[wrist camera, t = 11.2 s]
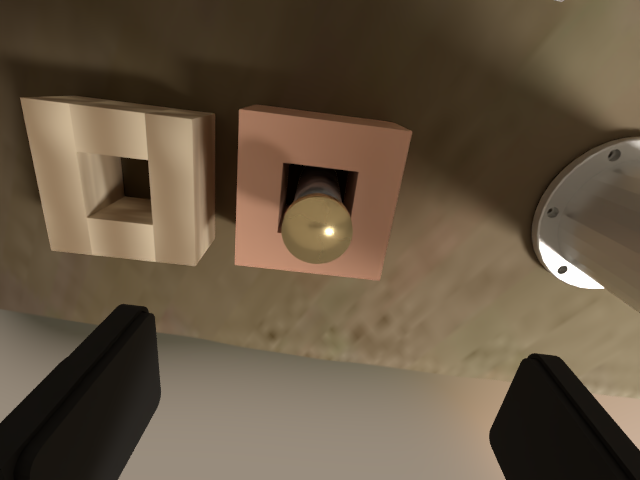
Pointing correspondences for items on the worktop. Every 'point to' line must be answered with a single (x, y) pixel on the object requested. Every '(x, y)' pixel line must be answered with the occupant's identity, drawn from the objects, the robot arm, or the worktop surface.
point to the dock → (320, 151)
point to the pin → (317, 218)
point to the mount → (107, 179)
